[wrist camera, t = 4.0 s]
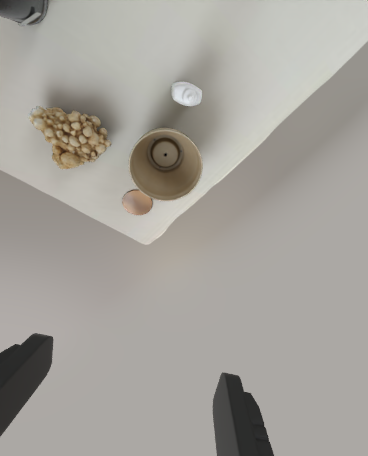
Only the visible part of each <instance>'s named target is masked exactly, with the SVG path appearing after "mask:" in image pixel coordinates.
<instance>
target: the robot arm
mask: <svg viewBox="0 0 368 456" xmlns="http://www.w3.org/2000/svg"><path fill="white" fill-rule="evenodd" d="M47 5H48V0H0V16H1V17H5V18H8V19H11V20H13V21H16V22H18V23H20V24H19V25H20V26H25V25H34V24H37V23H39V22H40V21H41V20H42V19H43V18H44V16H45V14H46V11H47ZM52 350H53V337H52V336H47V335H42V334H37V333H35V334H33V335H31V336H30V337H29V338H28V339H27V340H26V341H25V342H24V343H22V344H21V345H18V344H15V345H13V346H11V347H10V348H8V349H6V350H4V351H3V352H1V353H0V436H1V435H2V434H3V432H4V431H5V430H6V429H7V427H8V426H9V425H10V423H11V422H12V421H13V419H14V418H15V417H16V415H17V414H18V413H19V411H20V410H21V409H22V407H23V406H24V405H25V403H26V402H27V401H28V399H29V398H30V397H31V396H32V394H33V393H34V392H35V390H36V389H37V388H38V386H39V385H40V384H41V382H42V381H43V379H44V378H45V377H46V375H47V373H48V371H49V369H50V367H51V363H52ZM213 418H214V419H213V420H214V429H215V440H216V450H217V456H274V454H273V451H272V448H271V444H270V442H269V438H268V435H267V432H266V428H265V427H264V422H263V419H262V415H261V412H260V409H259V406H258V405H257V403H256V401H255V400H254V398H253V396H252V395H251V393H247V392H244V391H243V387H242V383H241V379H240V377H239V376H237V375H233V374H228V373H222V374H221V376H220V379H219V383H218V386H217V389H216V392H215V395H214V399H213Z"/></svg>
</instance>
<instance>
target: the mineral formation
mask: <svg viewBox="0 0 368 456" xmlns="http://www.w3.org/2000/svg"><path fill="white" fill-rule="evenodd" d="M46 109H47V110H45V109H43V108H42V107H40V106H36V109H32V111H31V113H29V114H28V116H29V119H30V121H31V122H32V124H33V125H34V126H35V128H36V129H38V130H41V131H42V132H43V134H44V136H45V140H46V141H47V142H49V143H50V142H51V143H52V144H53V146H52V151H53V156H52V159H53V161H54V162H55V163H56V164H57V165H58V166H59V168H60V169H69V168H75V167H78V166H79V165H83V164H84V162H87V161H89V162H90V161H91V162H95V159H97V158H98V157H99V155H101V154H102V153H103V152H105V151H106V147H109V146H111V142H110V141H109V140H106V139H107V130H106V129H105V128H101V129H99V131H97V127H99V126H100V125H101V122H100V120H99V119H98V118H97V117H96V116H94V115H93V116H88V115H87V114H82V115H81V114H80V113H79V112H77V111H75V110H73V111H72V113H71V114H66V113H64V112H63V110H62V109H60V108H55V107H53V108H46Z"/></svg>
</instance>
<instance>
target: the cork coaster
mask: <svg viewBox="0 0 368 456" xmlns="http://www.w3.org/2000/svg"><path fill="white" fill-rule="evenodd" d="M122 203H123V206H124V208H125V209H126V210H127V211H128V212H129V213H131V214H134V215H143V214H146V213H148V212H149V211H150V209H151V208H152V200H151V198H150V197H148V196H146V195H145V194H143V193H142V192H141V191H140V190H132V191H129V192H127V193H126V194H125V195H124V197H123V200H122Z"/></svg>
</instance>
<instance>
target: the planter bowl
mask: <svg viewBox="0 0 368 456" xmlns="http://www.w3.org/2000/svg"><path fill="white" fill-rule="evenodd" d="M165 153H166V154H167V156H164V154H165ZM202 169H203V164H202V157H201V154H200V152H199V150H198V148H197V146H196V145H195V144H194V142H193V141H192V140H191V139H190V138H188V137H187V136H186V135H185V134H183V133H182V132H180V131H178V130H175V129H172V128H157V129H154V130H151V131H149V132H147V133H146V134H145V135H143V136H142V137H141V138H140V139H139V140H138V142H137V143H136V144H135V146H134V147H133V149H132V151H131V154H130V157H129V173H130V176H131V179H132V181H133V183H134V184H135V186H136V187H137V188H138V189H139V190H140V191H141V192H142V193H143V194H145V195H146V196H148V197H150V198H152V199H155V200H159V201H173V200H177V199H180V198H182V197H184V196H186V195H188V194H189V193H190V192H191V191H192V190H193V189H194V188H195V187H196V186H197V184H198V182H199V180H200V178H201V175H202Z"/></svg>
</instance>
